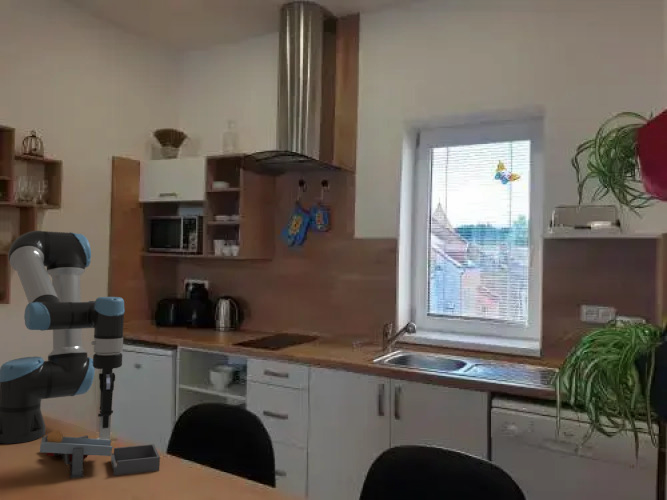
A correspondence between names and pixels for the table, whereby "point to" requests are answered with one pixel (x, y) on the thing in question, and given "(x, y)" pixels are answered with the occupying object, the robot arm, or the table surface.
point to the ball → (55, 437)
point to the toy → (66, 455)
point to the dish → (135, 459)
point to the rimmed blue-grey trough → (78, 446)
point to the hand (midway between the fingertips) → (104, 438)
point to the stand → (77, 463)
